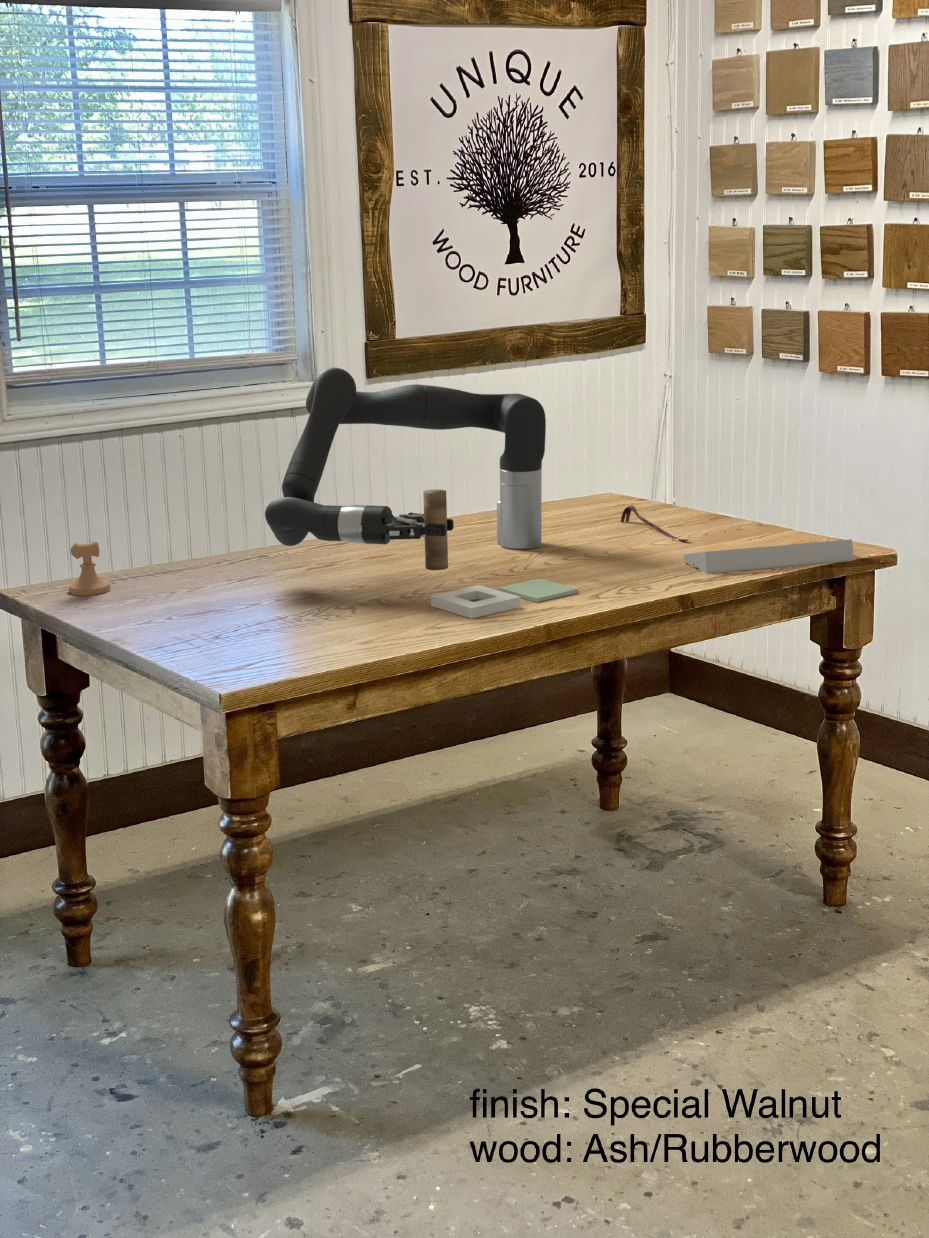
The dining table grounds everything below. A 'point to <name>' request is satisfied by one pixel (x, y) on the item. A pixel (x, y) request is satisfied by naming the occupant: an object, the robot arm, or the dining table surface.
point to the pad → (538, 590)
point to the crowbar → (632, 508)
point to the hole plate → (475, 601)
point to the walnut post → (435, 515)
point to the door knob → (87, 571)
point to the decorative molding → (771, 556)
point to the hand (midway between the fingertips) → (449, 527)
